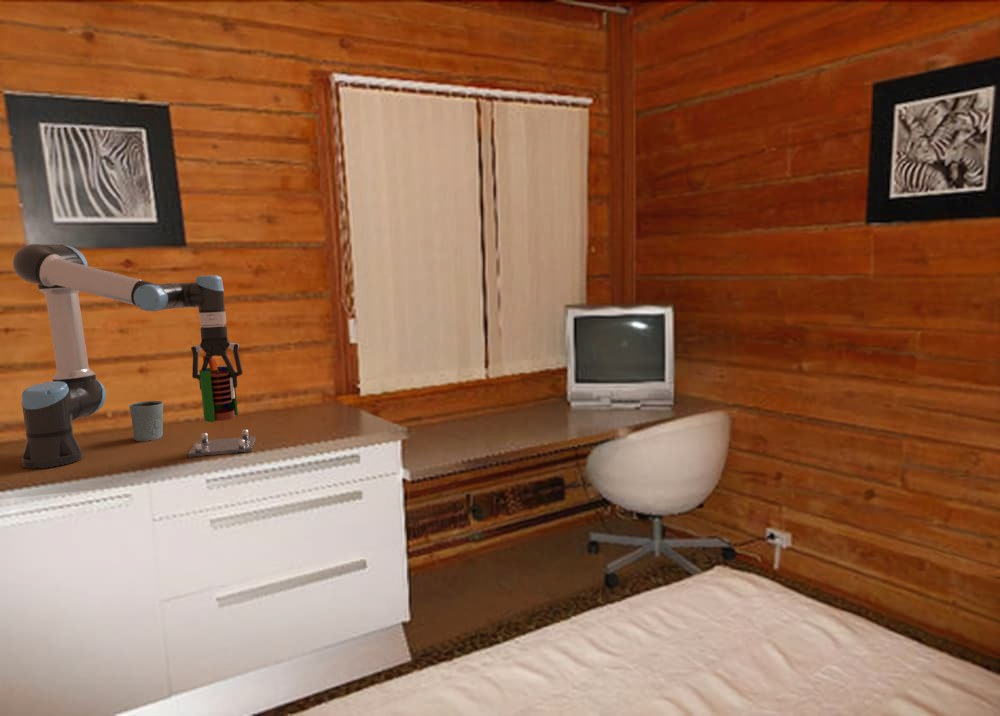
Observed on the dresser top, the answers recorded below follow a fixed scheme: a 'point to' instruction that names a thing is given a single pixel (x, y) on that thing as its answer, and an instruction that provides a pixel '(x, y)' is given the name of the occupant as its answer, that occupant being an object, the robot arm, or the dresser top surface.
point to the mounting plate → (222, 445)
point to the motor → (217, 393)
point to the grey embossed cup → (147, 420)
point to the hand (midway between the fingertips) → (220, 398)
